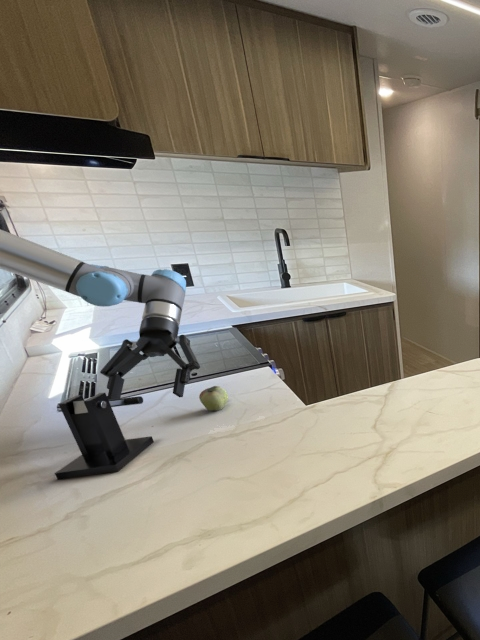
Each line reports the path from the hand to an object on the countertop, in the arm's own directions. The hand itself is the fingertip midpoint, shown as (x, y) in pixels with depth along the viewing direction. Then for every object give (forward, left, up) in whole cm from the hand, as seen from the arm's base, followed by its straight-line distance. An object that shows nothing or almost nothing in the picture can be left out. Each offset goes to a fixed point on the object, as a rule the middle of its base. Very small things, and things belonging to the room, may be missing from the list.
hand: (145, 398), depth 95 cm
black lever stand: (0, -16, -7) cm, 18 cm away
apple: (+11, +7, -7) cm, 15 cm away
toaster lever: (0, -12, +2) cm, 13 cm away
